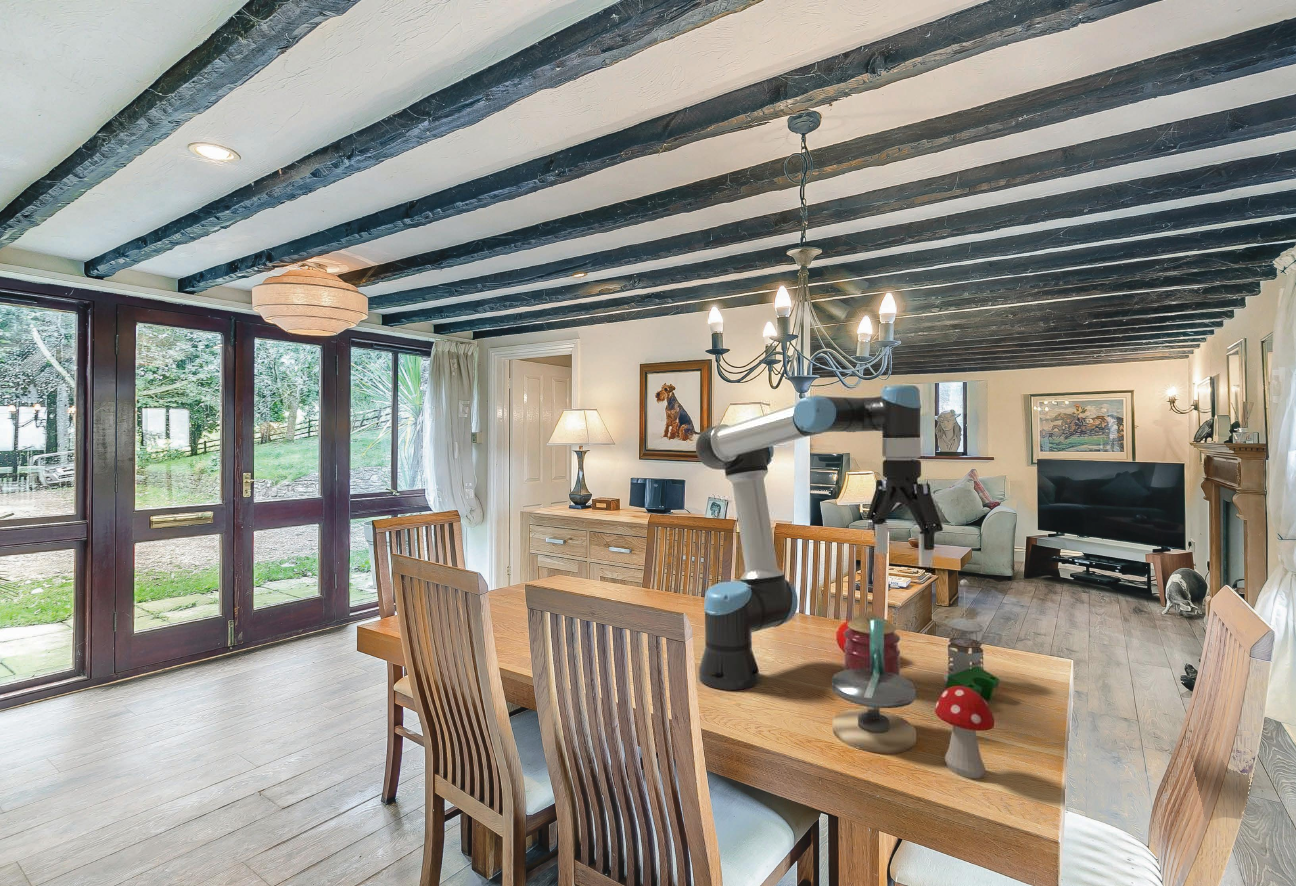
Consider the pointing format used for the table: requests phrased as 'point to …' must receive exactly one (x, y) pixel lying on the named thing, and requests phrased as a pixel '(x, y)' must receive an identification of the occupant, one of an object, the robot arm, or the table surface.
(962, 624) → the french press
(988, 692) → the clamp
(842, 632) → the tomato
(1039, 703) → the table surface
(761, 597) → the robot arm
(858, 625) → the canister
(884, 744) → the cylinder
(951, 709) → the decorative mushroom
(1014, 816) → the table surface
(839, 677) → the crank wheel
